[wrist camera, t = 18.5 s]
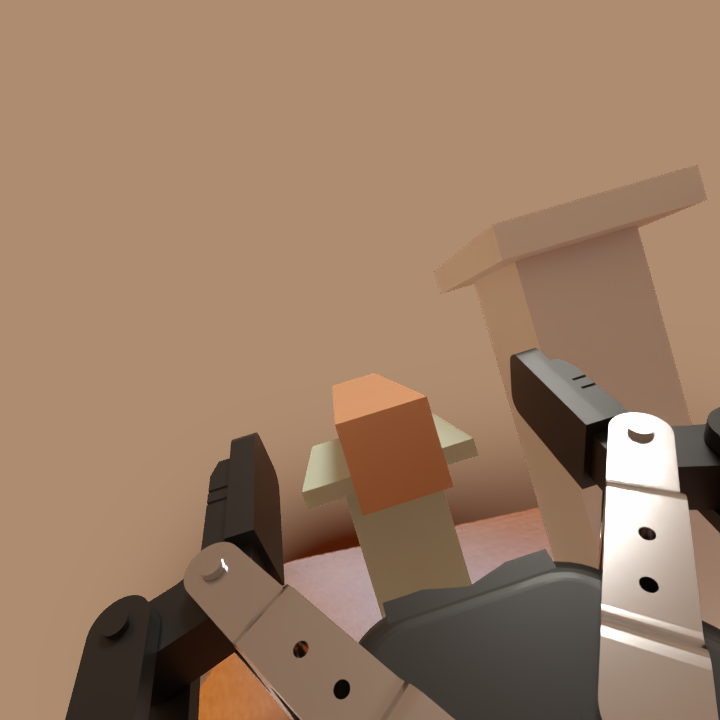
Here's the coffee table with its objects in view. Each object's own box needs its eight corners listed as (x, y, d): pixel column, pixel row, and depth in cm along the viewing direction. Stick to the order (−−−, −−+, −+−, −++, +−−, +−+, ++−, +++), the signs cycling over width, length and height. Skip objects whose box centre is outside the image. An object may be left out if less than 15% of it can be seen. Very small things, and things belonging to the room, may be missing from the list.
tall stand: (843, 706, 26) (697, 164, 25) (650, 776, 25) (492, 224, 24) (664, 581, 40) (566, 232, 39) (537, 625, 39) (433, 271, 38)
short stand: (574, 783, 26) (473, 438, 25) (410, 842, 25) (302, 492, 25) (498, 647, 38) (428, 410, 37) (385, 685, 37) (312, 446, 37)
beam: (453, 486, 19) (426, 396, 19) (362, 516, 19) (335, 424, 19) (387, 414, 41) (374, 372, 41) (345, 427, 41) (332, 385, 41)
